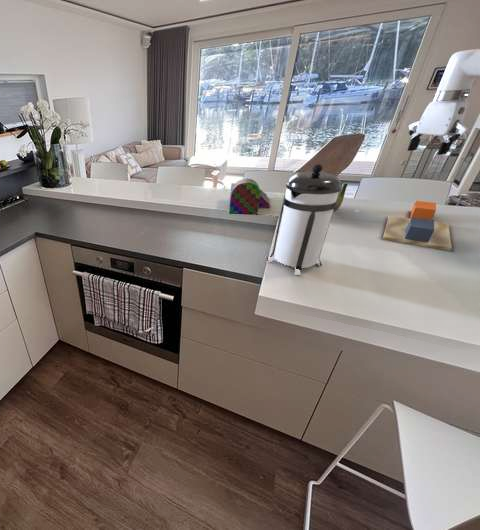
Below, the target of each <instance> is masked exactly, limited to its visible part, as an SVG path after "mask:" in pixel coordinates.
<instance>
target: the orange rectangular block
mask: <svg viewBox="0 0 480 530" xmlns="http://www.w3.org/2000/svg"><path fill="white" fill-rule="evenodd" d="M436 211H437V203H436V202H433V201H423V200H415V201H414V204H413V206H412V208H411V211H410V216H409V217H410V219H411V217H413V218H421V219H428V220H433V217H434V215H435V213H436Z"/></svg>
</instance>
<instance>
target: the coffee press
mask: <svg viewBox="0 0 480 530" xmlns="http://www.w3.org/2000/svg"><path fill="white" fill-rule="evenodd" d="M322 170H323V166H322V164H320V163H315V164H314V165H313V166H312V167H311V171H305V172H304V171H303V172H299V173H296V174H294V175H292V176H291V177H290V178H289V180H288V181H286V183H285V188H286V190H285V194H284V196H283V200H282V206H281V209H280V214H279V218H278V223H277V228H276V234H275V239H274V242H273V248H272V251H271V254H270V255H271V256H270V255H269V256H270V257H271V258H272V257H273V259H274V258H275V259H276V260H275V261H276V262H278V263H279V262H280V263H279V264H281V263H282V264H281V265H283V264H284V265H283V266H286V265H287V266H286V267H289V266H291V267H290V268H294V267H296V269H299V270H301V271H302V269H306V268H310V267H313V266H316V267H317V268H318V267H322V266H323V263H322V261H321V260H320V257H321V253H322V250H323V247H324V243H325V241H326V237H327V234H328V231H329V228H330V224H331V221H332V217H333V214H334V211H335V210H334V208H335V206H336V203H337V196H338V193H339V192H340V191H341V190H342V187H343V184H341V182H342V181H341V179H340V178H339V177H338V176H337V175H334V174H332V173H328V172H323V171H322ZM266 261H268V257H267V258H266ZM318 261H319V263H318ZM321 263H322V264H321Z"/></svg>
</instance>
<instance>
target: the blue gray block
mask: <svg viewBox="0 0 480 530" xmlns="http://www.w3.org/2000/svg"><path fill="white" fill-rule="evenodd" d="M410 217H411V216H410ZM434 222H435V220H434V219H431V220H428V219H421V218H413V217H411V219H410V222H409V224H408V226H407V228H406V233H405V239H409V240H415V241H421V242H427V243H428V241H429V240H430V238H431V236H432V234H433V232H434Z"/></svg>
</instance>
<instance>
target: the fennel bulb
mask: <svg viewBox="0 0 480 530" xmlns="http://www.w3.org/2000/svg"><path fill="white" fill-rule="evenodd" d="M341 184H342V189H341V191H340V192H339V193H338V196H337V203H336V206H335V208H334V211H337V210H338V209H339V208H340V207H341V206H342V204H343V201H344V198H345V193H346V190H347V187H348V185H349V183H348V182H344V181H341Z"/></svg>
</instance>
